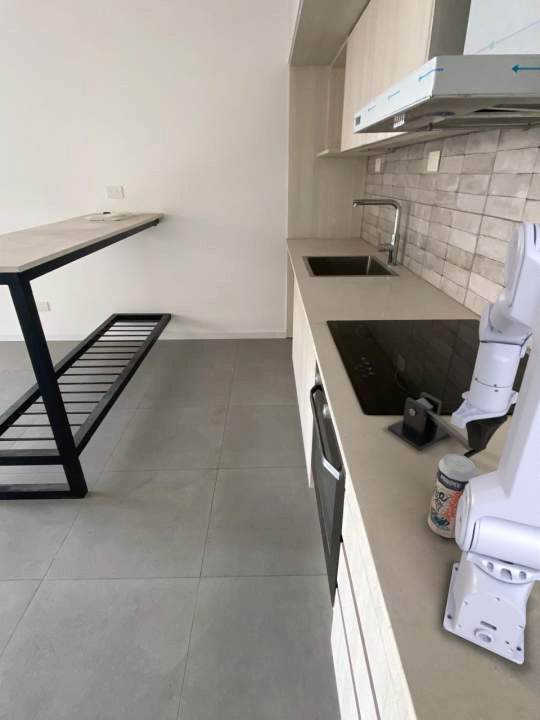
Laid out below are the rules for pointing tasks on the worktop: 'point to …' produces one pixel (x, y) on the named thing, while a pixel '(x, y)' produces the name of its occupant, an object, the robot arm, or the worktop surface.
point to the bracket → (419, 424)
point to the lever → (447, 428)
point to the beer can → (449, 492)
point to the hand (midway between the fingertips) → (475, 447)
